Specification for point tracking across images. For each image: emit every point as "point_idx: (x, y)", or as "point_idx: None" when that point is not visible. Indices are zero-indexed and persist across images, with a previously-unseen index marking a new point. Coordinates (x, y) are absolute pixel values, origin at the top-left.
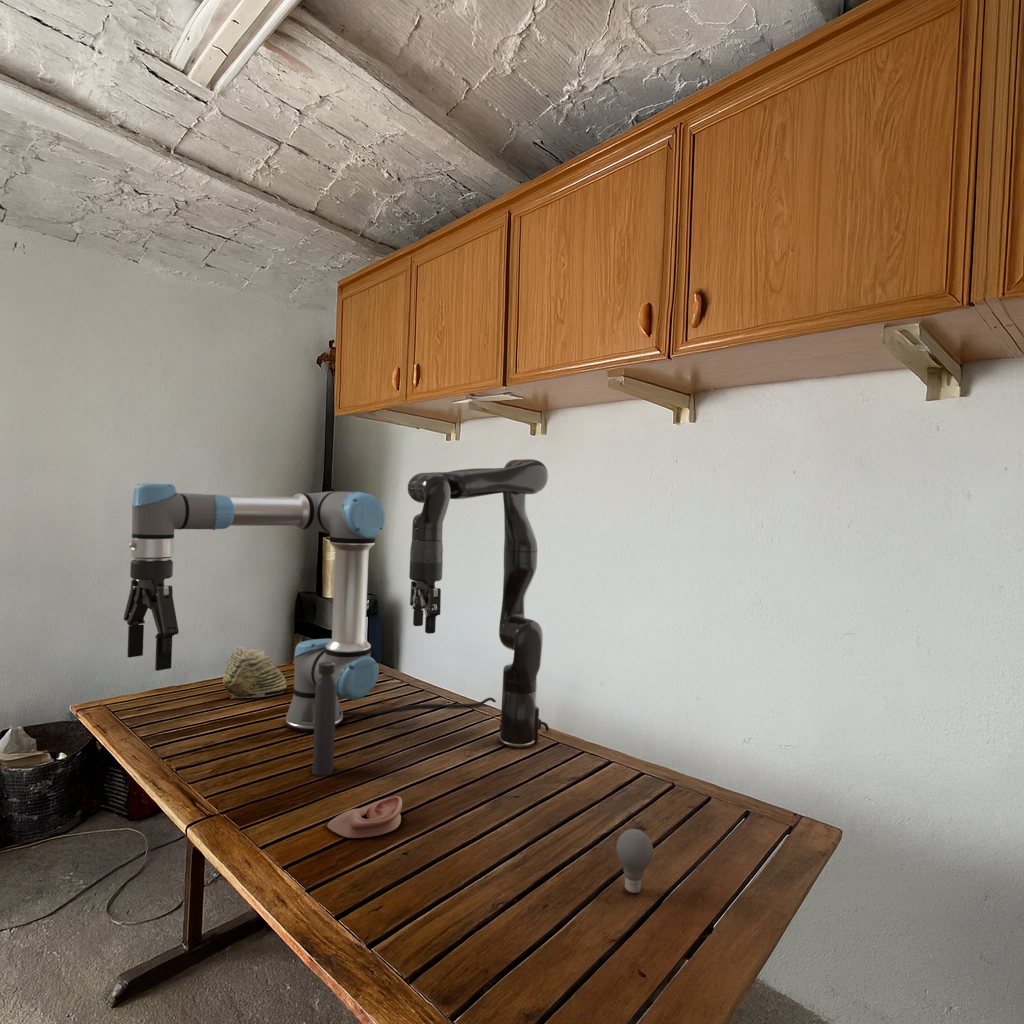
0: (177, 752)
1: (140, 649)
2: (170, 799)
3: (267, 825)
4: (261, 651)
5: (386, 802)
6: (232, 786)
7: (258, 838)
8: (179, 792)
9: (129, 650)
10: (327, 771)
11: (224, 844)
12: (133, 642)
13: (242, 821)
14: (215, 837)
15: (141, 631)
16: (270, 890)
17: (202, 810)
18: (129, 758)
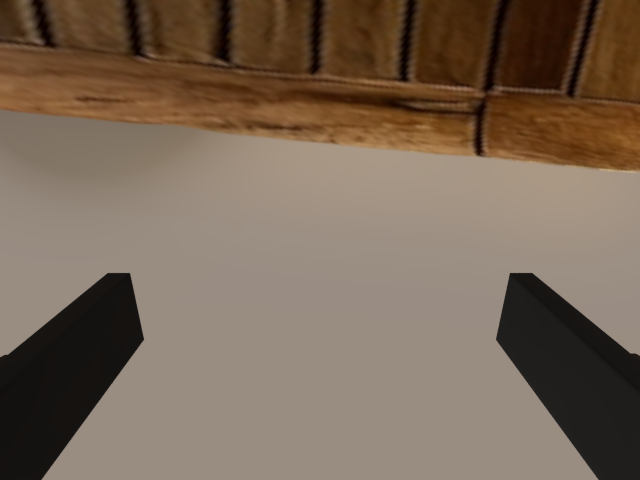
0: (117, 8)
1: (111, 307)
2: (358, 134)
3: (605, 48)
4: None
5: None
6: (399, 6)
7: (625, 88)
8: (342, 107)
9: (123, 366)
10: None
11: (586, 141)
12: (87, 383)
13: (549, 76)
14: (554, 141)
15: (12, 401)
16: None
17: (448, 111)
18: (95, 111)
